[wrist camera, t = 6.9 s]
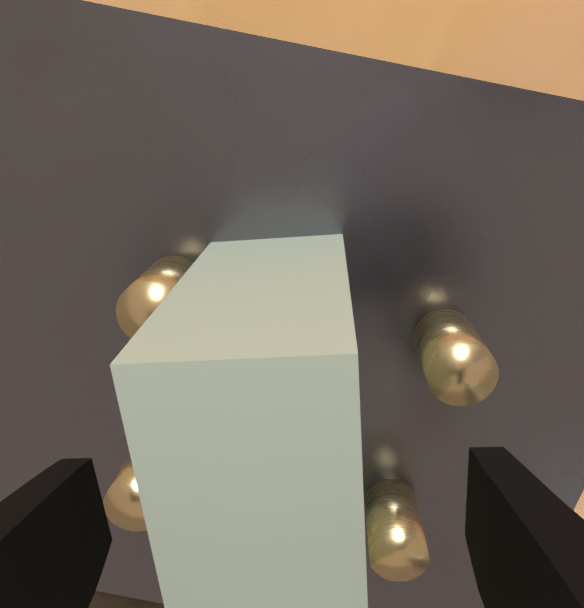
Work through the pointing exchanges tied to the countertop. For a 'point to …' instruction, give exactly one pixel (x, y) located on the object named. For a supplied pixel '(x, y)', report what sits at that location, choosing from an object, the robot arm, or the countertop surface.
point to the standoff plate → (280, 224)
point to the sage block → (251, 429)
